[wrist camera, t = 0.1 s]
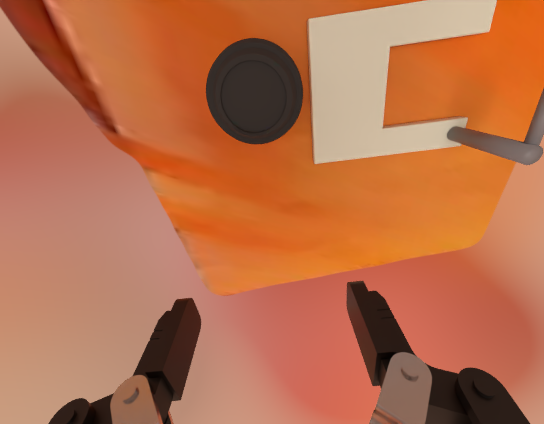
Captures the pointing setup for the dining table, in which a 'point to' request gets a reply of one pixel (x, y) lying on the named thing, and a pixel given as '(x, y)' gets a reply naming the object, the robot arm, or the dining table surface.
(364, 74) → the cream u-shaped stand
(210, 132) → the dining table surface
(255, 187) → the dining table surface
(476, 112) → the dining table surface
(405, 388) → the robot arm
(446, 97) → the dining table surface
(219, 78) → the coffee cup
